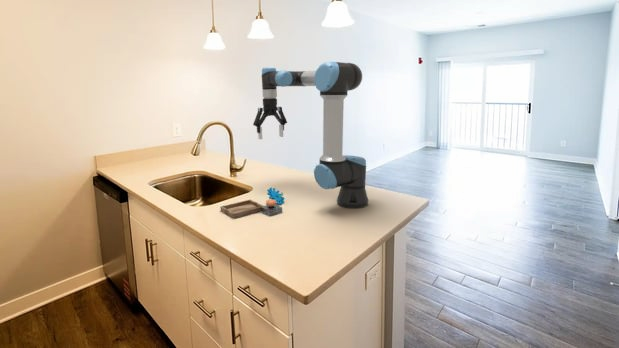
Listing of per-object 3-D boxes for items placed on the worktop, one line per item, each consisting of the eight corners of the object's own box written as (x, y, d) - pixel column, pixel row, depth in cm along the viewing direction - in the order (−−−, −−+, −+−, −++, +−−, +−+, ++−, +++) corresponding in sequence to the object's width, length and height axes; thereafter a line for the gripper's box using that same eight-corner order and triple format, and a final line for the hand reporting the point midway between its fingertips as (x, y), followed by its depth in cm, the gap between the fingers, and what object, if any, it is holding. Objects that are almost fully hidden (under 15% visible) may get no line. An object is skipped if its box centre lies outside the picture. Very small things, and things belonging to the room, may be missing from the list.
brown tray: (264, 210, 159) (264, 206, 159) (233, 219, 150) (233, 214, 149) (250, 203, 169) (250, 199, 168) (220, 211, 159) (220, 206, 158)
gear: (276, 204, 162) (265, 187, 165) (268, 212, 165) (257, 195, 167) (289, 201, 172) (278, 185, 174) (282, 208, 174) (271, 192, 177)
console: (282, 212, 157) (282, 207, 156) (269, 216, 152) (269, 210, 152) (273, 208, 162) (273, 203, 161) (260, 212, 158) (260, 206, 157)
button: (278, 206, 156) (277, 201, 156) (269, 209, 154) (269, 203, 153) (272, 204, 160) (272, 198, 159) (264, 206, 157) (264, 200, 156)
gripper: (284, 97, 195) (285, 134, 200) (245, 98, 180) (247, 139, 185) (292, 97, 190) (293, 136, 195) (253, 98, 174) (254, 140, 179)
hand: (271, 137), depth 190 cm, fingers open, 13 cm apart
